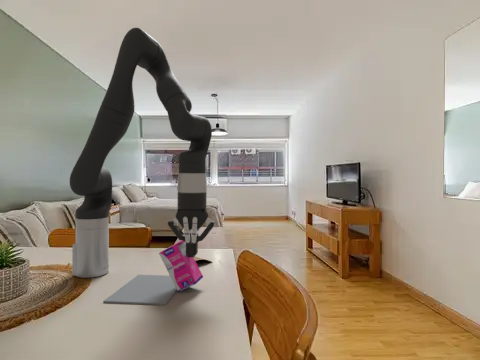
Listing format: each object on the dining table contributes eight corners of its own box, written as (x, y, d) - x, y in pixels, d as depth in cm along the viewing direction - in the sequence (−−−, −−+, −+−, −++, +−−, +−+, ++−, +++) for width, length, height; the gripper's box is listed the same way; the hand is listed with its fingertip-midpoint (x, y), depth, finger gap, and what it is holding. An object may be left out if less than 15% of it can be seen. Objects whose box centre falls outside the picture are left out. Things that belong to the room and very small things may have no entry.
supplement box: (177, 293, 80) (157, 253, 81) (186, 285, 85) (167, 248, 87) (196, 283, 79) (175, 243, 80) (204, 276, 84) (184, 238, 85)
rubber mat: (103, 302, 74) (103, 300, 74) (138, 276, 94) (138, 274, 94) (165, 305, 72) (165, 303, 72) (187, 277, 92) (187, 276, 92)
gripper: (219, 190, 85) (218, 253, 85) (171, 189, 86) (171, 252, 86) (214, 191, 77) (214, 261, 78) (162, 191, 79) (162, 259, 79)
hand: (191, 256), depth 82 cm, fingers closed
